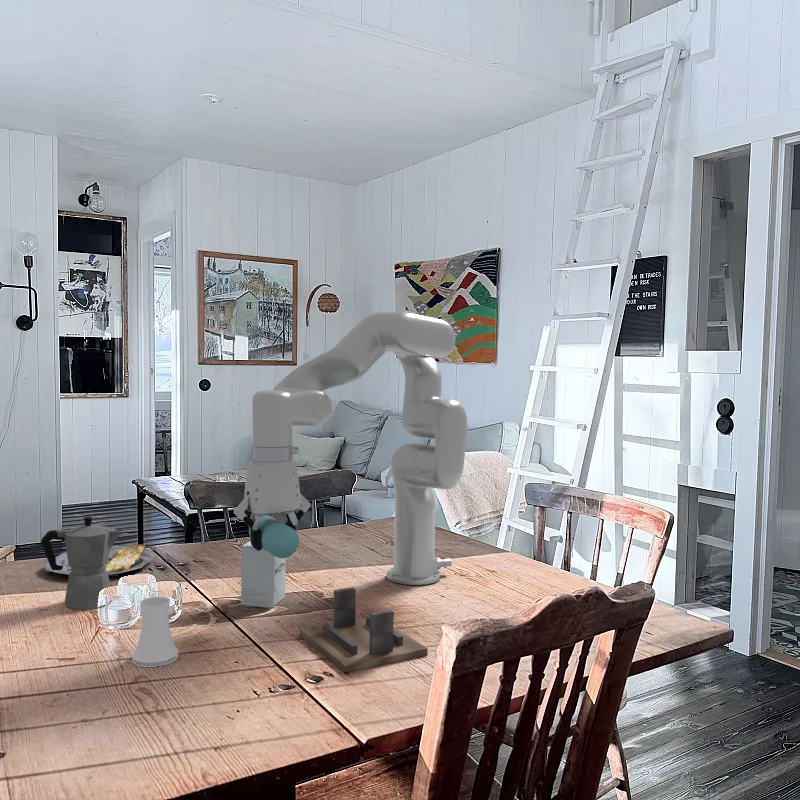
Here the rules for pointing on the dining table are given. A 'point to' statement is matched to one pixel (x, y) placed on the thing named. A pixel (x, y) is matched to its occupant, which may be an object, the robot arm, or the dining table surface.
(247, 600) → the supplement box
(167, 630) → the vase
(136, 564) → the food plate
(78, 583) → the coffeepot
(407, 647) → the roll holder
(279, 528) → the light blue cylinder
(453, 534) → the dining table surface
